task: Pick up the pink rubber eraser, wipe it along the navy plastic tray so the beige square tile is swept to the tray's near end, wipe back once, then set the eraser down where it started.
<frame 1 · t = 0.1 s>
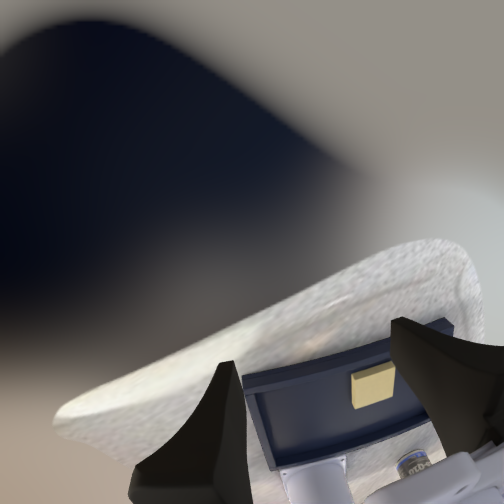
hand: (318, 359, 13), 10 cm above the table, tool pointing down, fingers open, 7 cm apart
beige square tile: (371, 382, 25), point 1 cm above the table, touching tray
tray: (354, 400, 27), on the table
pill bottle: (409, 458, 32), on the table
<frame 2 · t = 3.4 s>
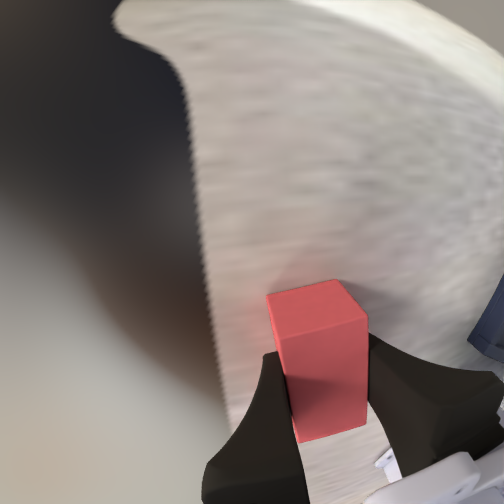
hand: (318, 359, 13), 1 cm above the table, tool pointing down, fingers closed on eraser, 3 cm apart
eraser: (310, 342, 14), on the table, touching gripper
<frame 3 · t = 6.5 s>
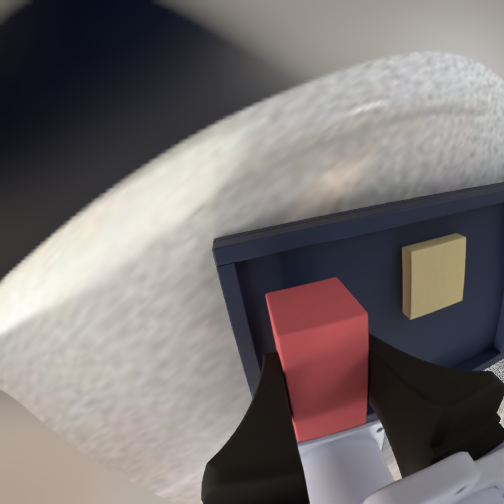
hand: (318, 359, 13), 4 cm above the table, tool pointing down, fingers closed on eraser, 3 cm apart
eraser: (309, 341, 14), point 2 cm above the table, touching gripper
beige square tile: (430, 272, 16), point 1 cm above the table, touching tray
tray: (404, 312, 17), on the table
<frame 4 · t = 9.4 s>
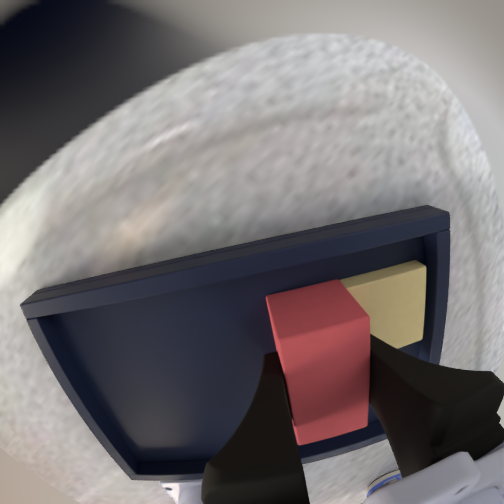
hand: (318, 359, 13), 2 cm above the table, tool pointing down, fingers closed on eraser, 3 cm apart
eraser: (310, 343, 14), point 1 cm above the table, touching beige square tile, gripper, tray
beige square tile: (380, 307, 14), point 1 cm above the table, touching eraser, tray
tray: (254, 374, 15), on the table
pill bottle: (387, 480, 20), on the table
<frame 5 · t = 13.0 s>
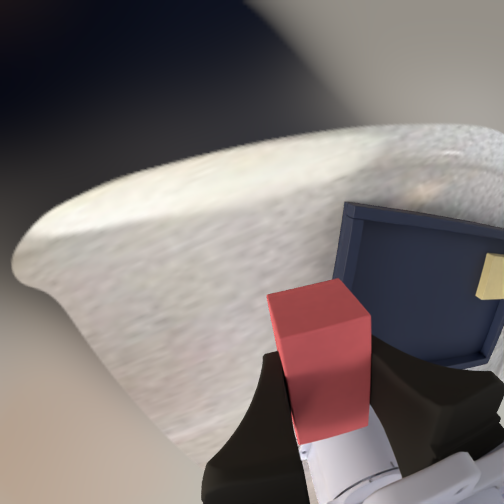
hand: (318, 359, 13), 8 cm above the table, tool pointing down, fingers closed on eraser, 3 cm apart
eraser: (311, 343, 14), point 7 cm above the table, touching gripper
beige square tile: (493, 275, 21), point 1 cm above the table, touching tray
tray: (434, 299, 22), on the table
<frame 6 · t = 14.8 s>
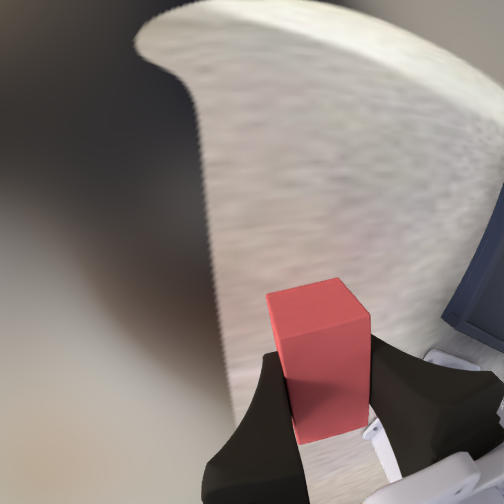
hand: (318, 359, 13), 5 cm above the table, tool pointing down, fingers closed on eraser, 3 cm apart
eraser: (310, 342, 14), point 4 cm above the table, touching gripper
when the fingers open (1 cm above the table, at t = 16.0 s): eraser stays where it is, on the table.
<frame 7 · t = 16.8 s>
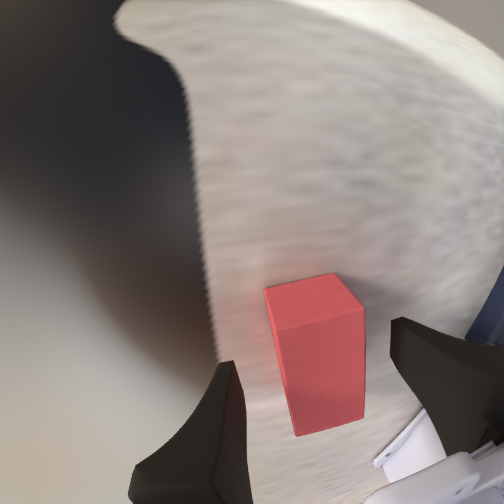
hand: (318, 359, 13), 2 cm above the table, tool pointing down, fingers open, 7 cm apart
eraser: (307, 336, 14), on the table
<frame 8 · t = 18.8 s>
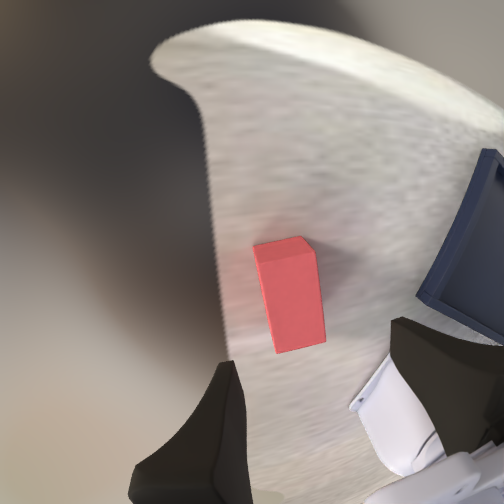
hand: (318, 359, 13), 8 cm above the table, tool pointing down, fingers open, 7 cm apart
eraser: (284, 283, 21), on the table
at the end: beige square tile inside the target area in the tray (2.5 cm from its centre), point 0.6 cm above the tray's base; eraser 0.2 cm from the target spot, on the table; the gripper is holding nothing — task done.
